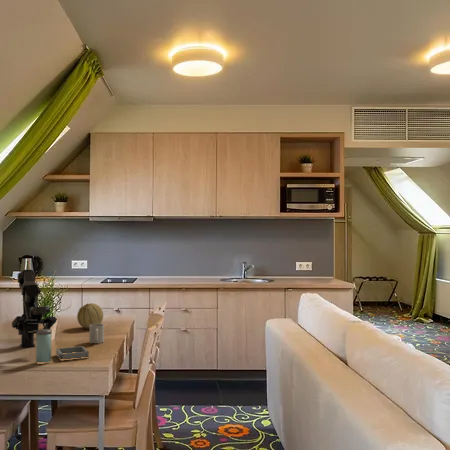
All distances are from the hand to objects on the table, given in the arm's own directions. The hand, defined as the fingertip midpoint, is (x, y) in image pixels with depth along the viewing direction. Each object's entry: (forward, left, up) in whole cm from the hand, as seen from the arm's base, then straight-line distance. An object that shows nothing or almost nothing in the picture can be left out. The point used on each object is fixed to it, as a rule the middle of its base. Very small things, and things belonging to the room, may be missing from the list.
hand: (38, 338), depth 216 cm
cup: (-19, +30, -9) cm, 37 cm away
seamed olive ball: (-57, +35, -9) cm, 68 cm away
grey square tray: (+3, +14, -9) cm, 17 cm away
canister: (+8, +1, -9) cm, 12 cm away
